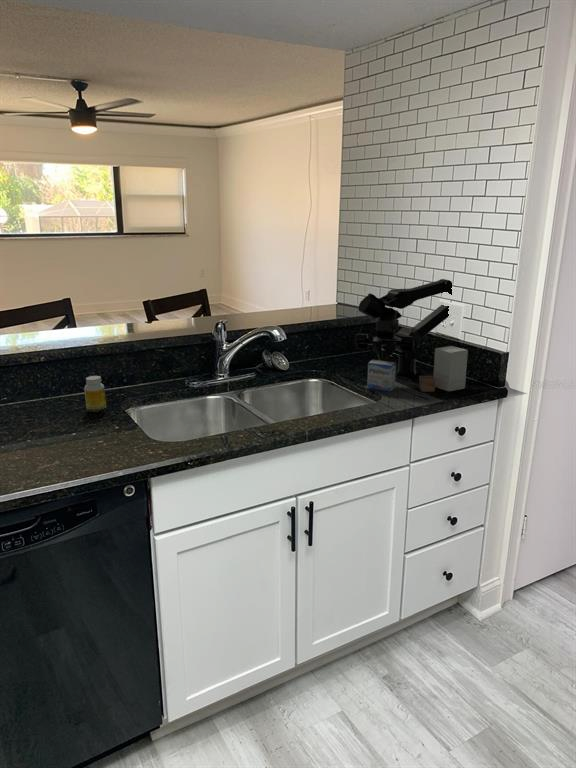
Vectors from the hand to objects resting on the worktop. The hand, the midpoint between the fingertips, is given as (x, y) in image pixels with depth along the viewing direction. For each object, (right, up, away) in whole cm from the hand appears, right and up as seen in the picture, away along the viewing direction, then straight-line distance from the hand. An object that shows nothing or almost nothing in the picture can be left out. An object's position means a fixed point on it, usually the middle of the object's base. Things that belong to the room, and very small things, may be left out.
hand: (381, 365), depth 180 cm
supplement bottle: (-84, -14, -19) cm, 87 cm away
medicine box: (0, -8, 0) cm, 8 cm away
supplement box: (+22, -7, +1) cm, 23 cm away
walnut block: (+14, -8, -1) cm, 16 cm away
